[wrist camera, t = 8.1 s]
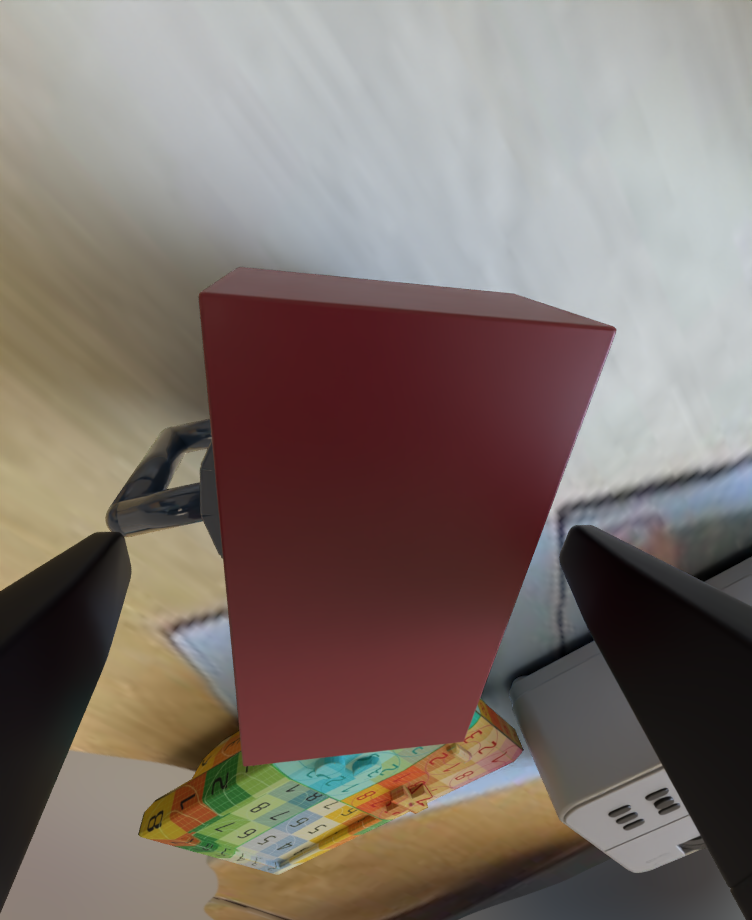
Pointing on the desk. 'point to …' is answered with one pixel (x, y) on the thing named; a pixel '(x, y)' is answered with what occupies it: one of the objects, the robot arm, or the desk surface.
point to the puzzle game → (317, 796)
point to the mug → (160, 508)
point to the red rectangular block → (380, 495)
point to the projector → (607, 754)
